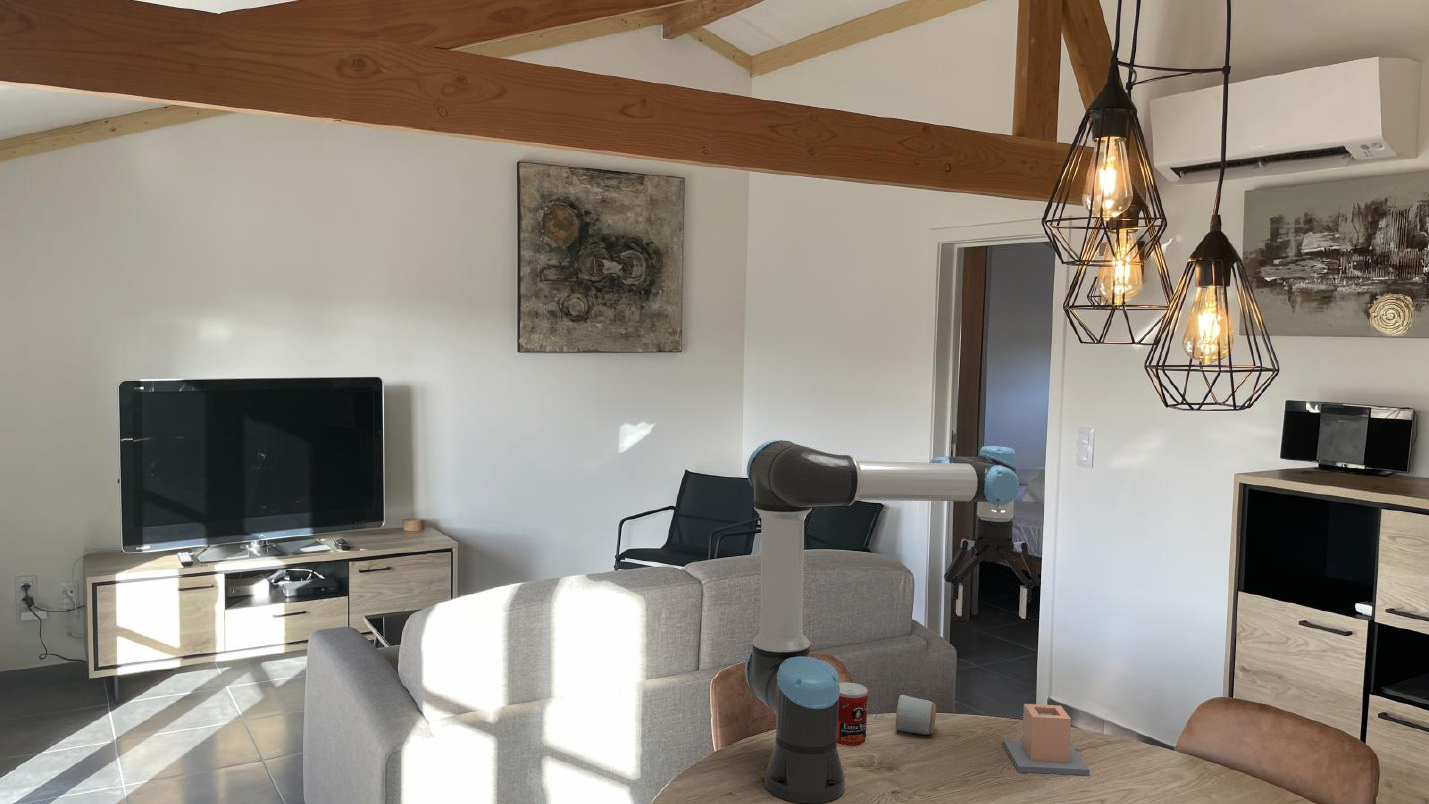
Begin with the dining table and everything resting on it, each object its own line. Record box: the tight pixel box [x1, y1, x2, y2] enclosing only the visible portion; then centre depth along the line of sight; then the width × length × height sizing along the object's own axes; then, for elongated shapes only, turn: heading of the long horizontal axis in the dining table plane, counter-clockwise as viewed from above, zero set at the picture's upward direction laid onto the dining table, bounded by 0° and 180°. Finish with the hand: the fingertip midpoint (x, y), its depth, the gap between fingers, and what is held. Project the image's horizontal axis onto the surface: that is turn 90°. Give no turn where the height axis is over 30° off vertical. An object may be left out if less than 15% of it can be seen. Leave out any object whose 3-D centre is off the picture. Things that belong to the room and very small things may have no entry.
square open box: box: [1021, 703, 1072, 762], centre depth 213 cm, size 8×8×9 cm
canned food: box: [837, 681, 869, 746], centre depth 221 cm, size 8×8×11 cm
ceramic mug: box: [895, 694, 937, 736], centre depth 227 cm, size 11×8×8 cm
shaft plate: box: [1002, 738, 1091, 777], centre depth 213 cm, size 14×14×1 cm
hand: (990, 615), depth 223 cm, fingers open, 13 cm apart
